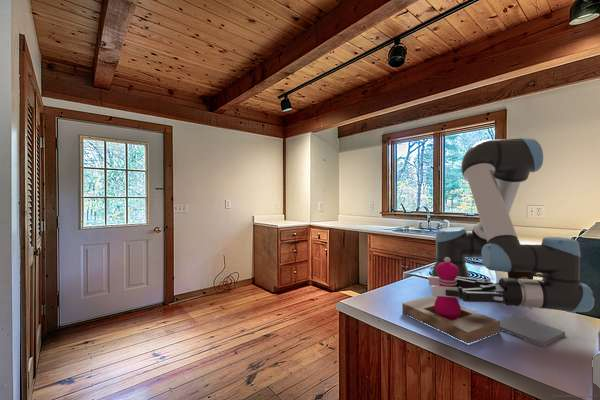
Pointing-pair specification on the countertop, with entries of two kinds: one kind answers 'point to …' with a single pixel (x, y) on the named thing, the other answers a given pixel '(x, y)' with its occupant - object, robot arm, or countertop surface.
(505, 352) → the countertop surface
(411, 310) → the frame
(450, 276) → the pepper mill
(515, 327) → the grey mat
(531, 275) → the coffee mug
